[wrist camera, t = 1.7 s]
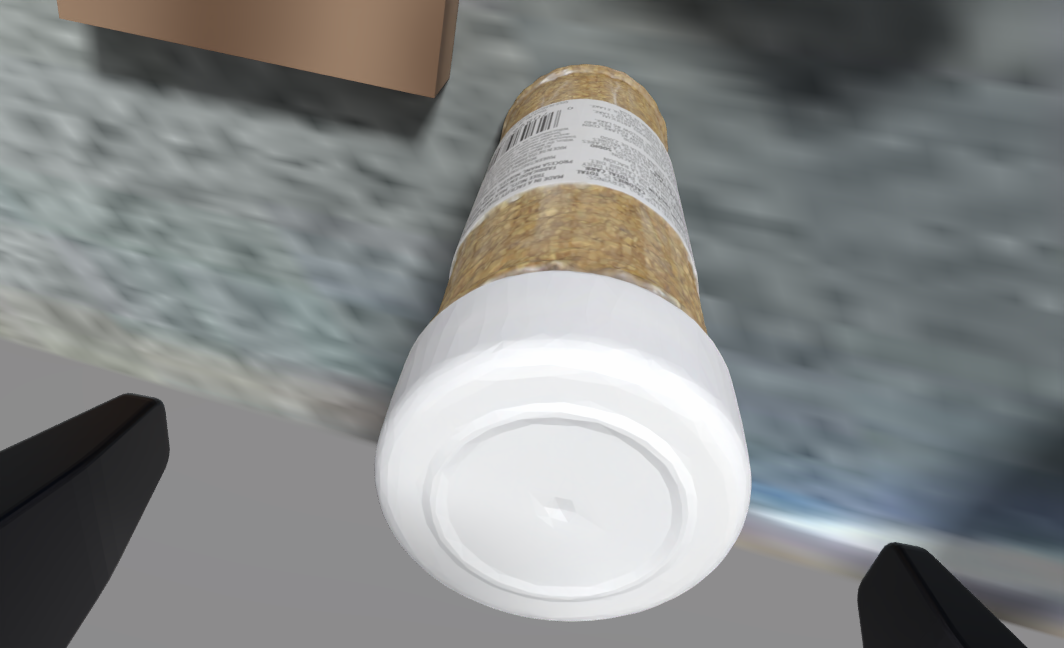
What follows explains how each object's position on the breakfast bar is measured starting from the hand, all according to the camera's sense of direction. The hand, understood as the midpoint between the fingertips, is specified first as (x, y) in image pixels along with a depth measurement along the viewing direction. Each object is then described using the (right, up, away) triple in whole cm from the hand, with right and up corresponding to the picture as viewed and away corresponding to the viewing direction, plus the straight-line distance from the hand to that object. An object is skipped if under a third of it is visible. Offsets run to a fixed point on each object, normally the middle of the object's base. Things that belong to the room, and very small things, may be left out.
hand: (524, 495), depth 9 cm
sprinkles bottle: (+2, +7, +11) cm, 13 cm away
